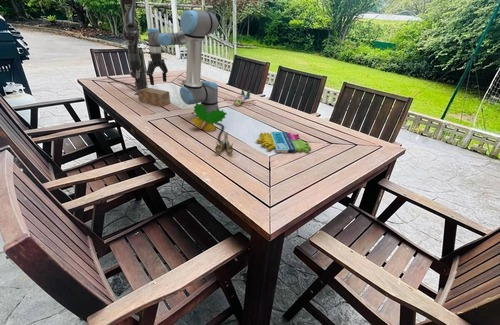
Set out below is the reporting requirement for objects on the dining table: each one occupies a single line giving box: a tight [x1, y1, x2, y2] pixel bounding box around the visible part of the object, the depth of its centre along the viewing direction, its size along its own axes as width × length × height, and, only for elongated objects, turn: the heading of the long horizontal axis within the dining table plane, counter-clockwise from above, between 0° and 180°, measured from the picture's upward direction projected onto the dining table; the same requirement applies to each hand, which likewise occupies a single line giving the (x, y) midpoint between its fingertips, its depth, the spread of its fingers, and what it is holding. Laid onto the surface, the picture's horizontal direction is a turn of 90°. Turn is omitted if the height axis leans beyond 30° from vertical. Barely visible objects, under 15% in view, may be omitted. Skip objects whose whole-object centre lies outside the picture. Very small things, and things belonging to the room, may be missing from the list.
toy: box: [223, 89, 257, 106], centre depth 219 cm, size 28×7×30 cm
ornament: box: [191, 102, 228, 132], centre depth 162 cm, size 21×8×15 cm, turn 105°
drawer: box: [133, 90, 140, 101], centre depth 204 cm, size 25×9×7 cm, turn 66°
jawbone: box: [214, 131, 234, 156], centre depth 136 cm, size 9×15×10 cm
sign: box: [256, 131, 312, 154], centre depth 152 cm, size 26×2×30 cm
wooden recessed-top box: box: [139, 87, 171, 107], centre depth 202 cm, size 20×10×9 cm, turn 66°
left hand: (137, 83), depth 203 cm, fingers closed
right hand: (158, 83), depth 195 cm, fingers open, 13 cm apart
